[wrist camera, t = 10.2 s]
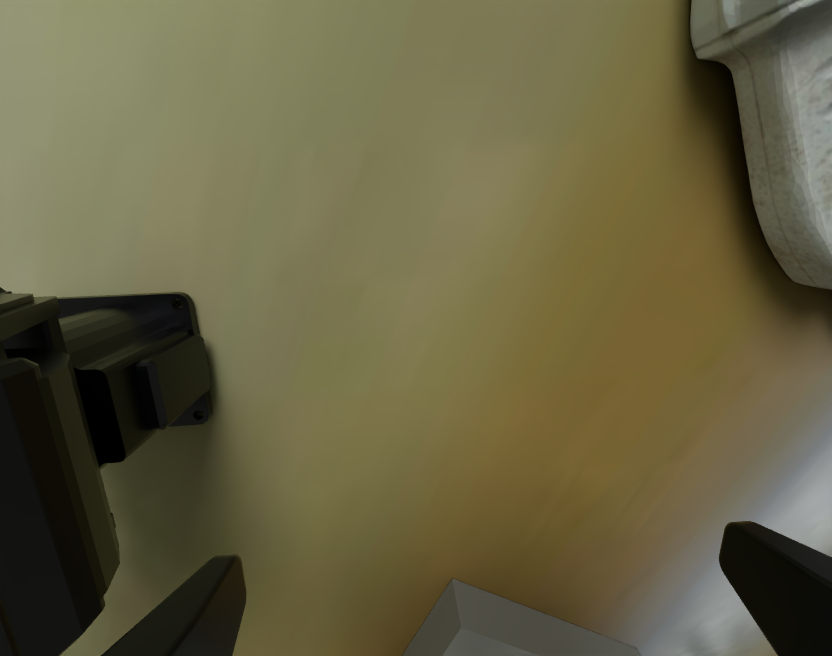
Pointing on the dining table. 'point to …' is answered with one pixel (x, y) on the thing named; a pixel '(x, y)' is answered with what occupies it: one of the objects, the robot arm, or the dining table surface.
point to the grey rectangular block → (502, 629)
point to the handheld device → (781, 118)
